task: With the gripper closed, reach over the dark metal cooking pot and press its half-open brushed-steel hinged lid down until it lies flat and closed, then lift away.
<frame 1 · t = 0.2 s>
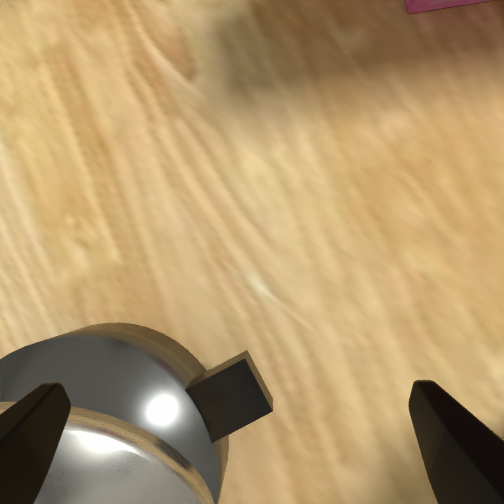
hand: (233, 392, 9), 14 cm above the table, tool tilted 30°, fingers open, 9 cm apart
pot: (114, 438, 23), on the table
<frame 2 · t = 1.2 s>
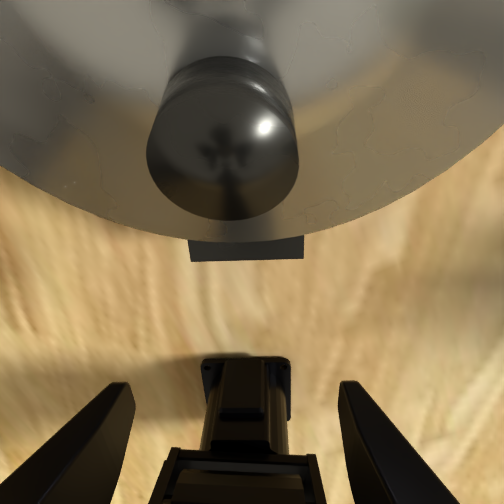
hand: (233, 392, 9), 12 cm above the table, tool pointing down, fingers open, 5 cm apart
pot: (238, 4, 15), on the table
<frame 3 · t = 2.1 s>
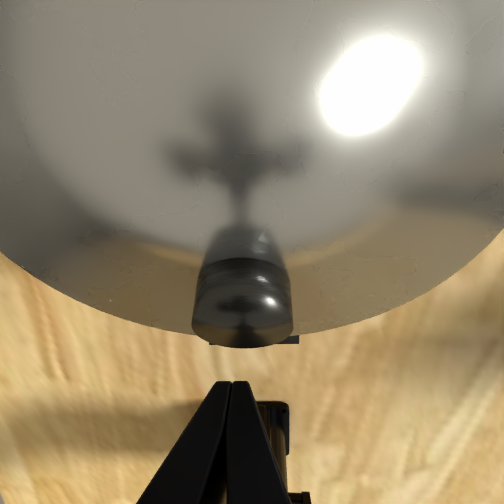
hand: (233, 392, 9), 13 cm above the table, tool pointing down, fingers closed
lid: (235, 237, 10), point 10 cm above the table, hinge at 25.0°
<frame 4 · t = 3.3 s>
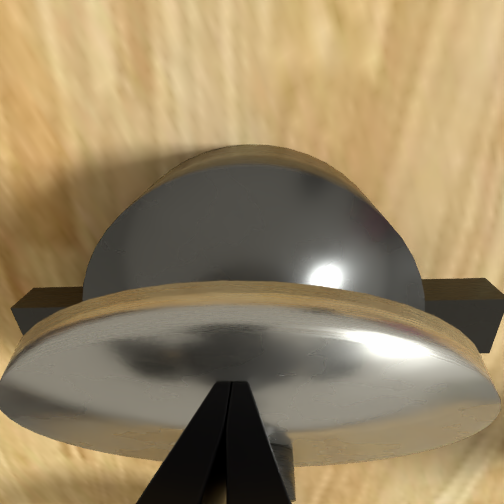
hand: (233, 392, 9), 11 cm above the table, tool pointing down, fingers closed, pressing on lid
pot: (254, 279, 20), on the table
lid: (247, 442, 12), point 10 cm above the table, hinge at 22.8°, touching gripper
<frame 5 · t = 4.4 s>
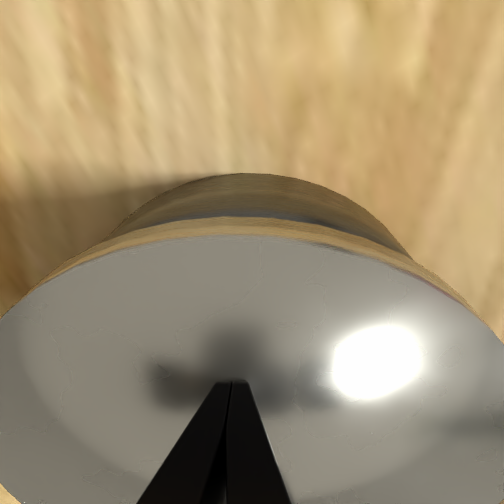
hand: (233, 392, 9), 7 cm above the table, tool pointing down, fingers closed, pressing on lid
pot: (251, 336, 16), on the table
lid: (243, 486, 10), point 7 cm above the table, hinge at 2.3°, touching gripper
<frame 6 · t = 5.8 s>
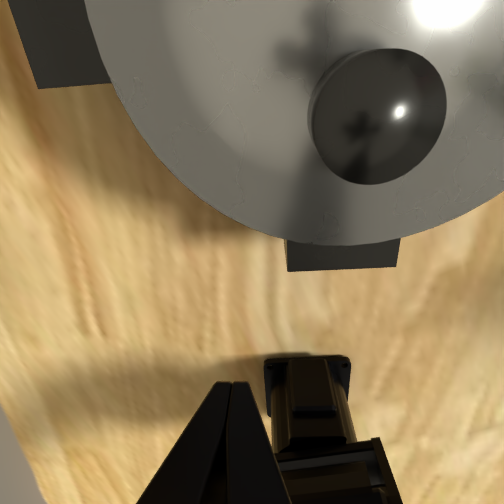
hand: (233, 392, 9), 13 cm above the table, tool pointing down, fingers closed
pot: (331, 23, 15), on the table
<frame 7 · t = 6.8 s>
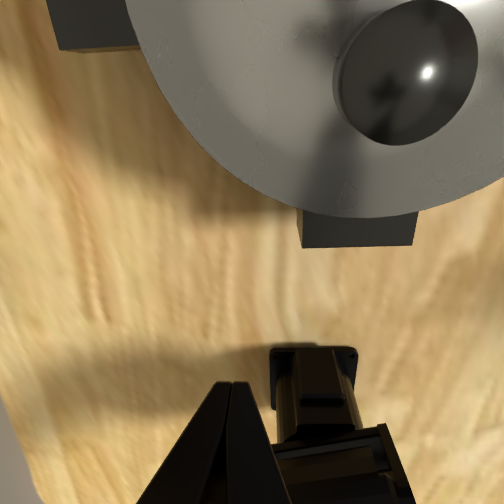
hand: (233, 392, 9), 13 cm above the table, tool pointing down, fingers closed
pot: (351, 1, 15), on the table
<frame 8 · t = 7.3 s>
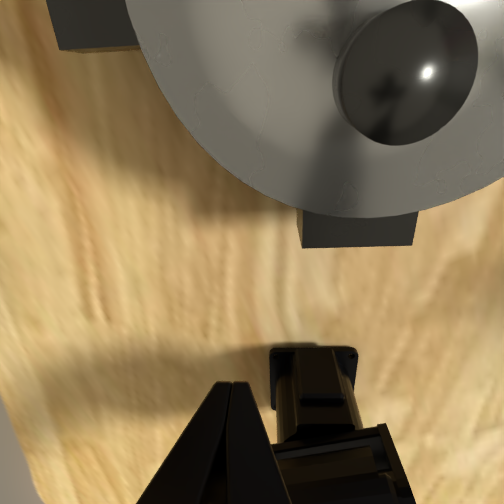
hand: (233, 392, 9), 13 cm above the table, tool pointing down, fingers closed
pot: (351, 1, 15), on the table
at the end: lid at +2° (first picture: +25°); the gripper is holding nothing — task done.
